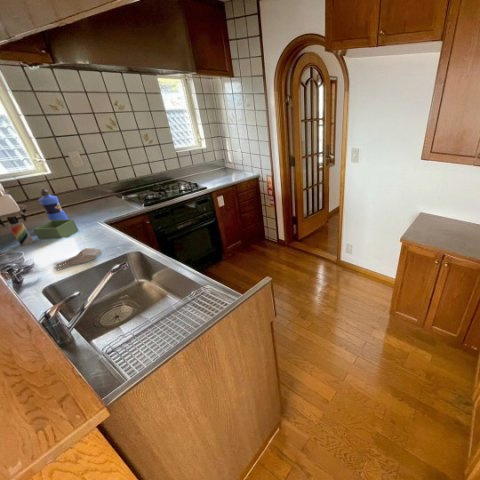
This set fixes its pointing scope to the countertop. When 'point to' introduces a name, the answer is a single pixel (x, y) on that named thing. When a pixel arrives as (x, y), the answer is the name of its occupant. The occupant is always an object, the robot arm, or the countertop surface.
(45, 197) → the water bottle
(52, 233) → the bin
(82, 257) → the tan elongated piece
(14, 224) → the lotion bottle
